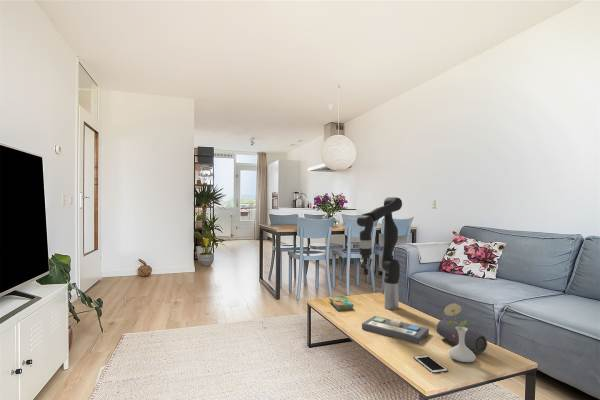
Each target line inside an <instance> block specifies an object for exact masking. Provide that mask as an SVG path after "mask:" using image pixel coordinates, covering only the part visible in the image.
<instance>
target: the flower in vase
mask: <svg viewBox="0 0 600 400" xmlns="http://www.w3.org/2000/svg"><path fill="white" fill-rule="evenodd" d="M443 312H444V315H446V316H449V317H454V320H448V321H449V322H448V323H447V324H450V325H454V324H455V323H456V324H458V327H456V329H457V331H458V334H459V344H458V345H457V346H456V345H454V346H453V347H451V348H450V349H449V350H448V352H447V353H448V356H449V357H451V358H452V359H453V360H456V361H458V362H461V363H472V362H475V360H476V359H477V356H476V355H475V353H474V351H472V350H470V349H469V348H467V347H466V345H465V341H464V339H465V333H466V331H467V330H468V329H469V328H468V327H466V324H467V321H468V320H467V319H466V320H462V321H460V322H459V323H458V321H457V319H456V317H457V316H456V315H459V313H460V312H462V306H461V305H460V304H458V303H450V304H448V305H447V306H445V308H444V310H443ZM460 326H464V327H460ZM465 327H466V328H465ZM467 328H468V329H467Z"/></svg>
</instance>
